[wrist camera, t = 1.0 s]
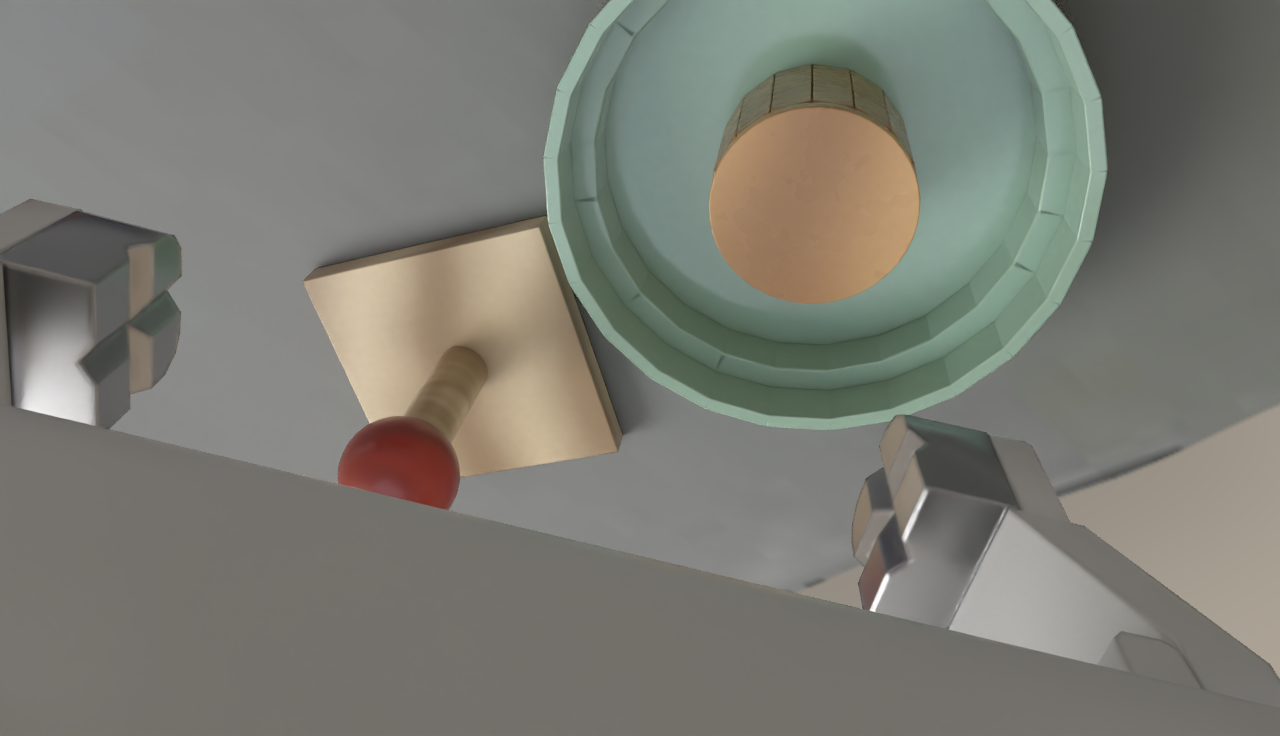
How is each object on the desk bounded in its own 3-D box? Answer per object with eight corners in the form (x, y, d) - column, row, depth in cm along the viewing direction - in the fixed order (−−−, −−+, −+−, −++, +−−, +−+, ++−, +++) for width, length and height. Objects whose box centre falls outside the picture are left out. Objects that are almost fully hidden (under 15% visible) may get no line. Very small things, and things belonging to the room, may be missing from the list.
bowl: (1044, -192, 30) (1078, -187, 26) (1093, 321, 37) (1126, 384, 33) (506, -30, 34) (467, -6, 30) (647, 399, 42) (630, 463, 38)
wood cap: (890, 43, 33) (901, 82, 29) (921, 222, 36) (935, 283, 32) (701, 91, 35) (685, 135, 30) (744, 259, 37) (735, 320, 33)
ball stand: (546, 214, 38) (464, 348, 29) (623, 436, 43) (571, 611, 34) (314, 268, 41) (173, 406, 32) (409, 471, 45) (308, 643, 36)
